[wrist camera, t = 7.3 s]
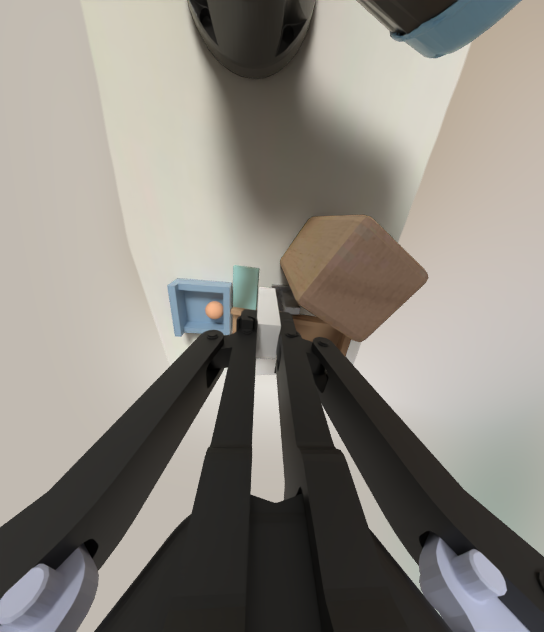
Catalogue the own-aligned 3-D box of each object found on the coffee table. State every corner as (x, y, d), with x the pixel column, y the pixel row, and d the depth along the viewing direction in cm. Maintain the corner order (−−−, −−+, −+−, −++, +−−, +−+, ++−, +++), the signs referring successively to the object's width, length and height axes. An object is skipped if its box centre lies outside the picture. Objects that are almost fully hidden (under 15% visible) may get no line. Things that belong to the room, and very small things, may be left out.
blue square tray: (177, 278, 37) (167, 285, 33) (231, 282, 38) (228, 290, 34) (183, 324, 42) (175, 336, 38) (231, 327, 42) (228, 339, 38)
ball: (215, 296, 39) (200, 301, 36) (227, 302, 38) (213, 307, 35) (215, 312, 41) (201, 318, 38) (227, 318, 39) (214, 324, 36)
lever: (234, 334, 37) (228, 344, 34) (235, 264, 31) (228, 269, 28) (339, 350, 35) (342, 363, 32) (361, 281, 29) (368, 288, 26)
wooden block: (316, 290, 40) (361, 348, 22) (277, 262, 37) (293, 303, 19) (350, 248, 36) (438, 277, 18) (310, 214, 33) (369, 208, 15)
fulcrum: (267, 330, 43) (268, 357, 35) (272, 284, 38) (275, 302, 30) (293, 332, 44) (300, 358, 36) (301, 286, 39) (311, 304, 31)
